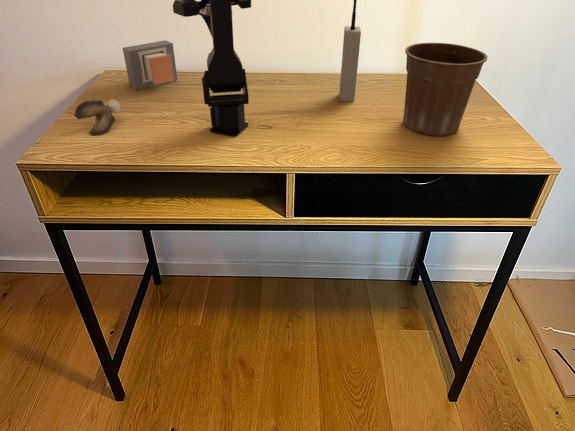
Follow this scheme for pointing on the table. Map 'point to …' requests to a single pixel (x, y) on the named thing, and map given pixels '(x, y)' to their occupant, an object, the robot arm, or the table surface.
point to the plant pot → (439, 85)
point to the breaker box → (136, 62)
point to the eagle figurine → (98, 114)
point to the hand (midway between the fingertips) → (216, 41)
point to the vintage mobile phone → (350, 60)
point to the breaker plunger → (158, 67)
